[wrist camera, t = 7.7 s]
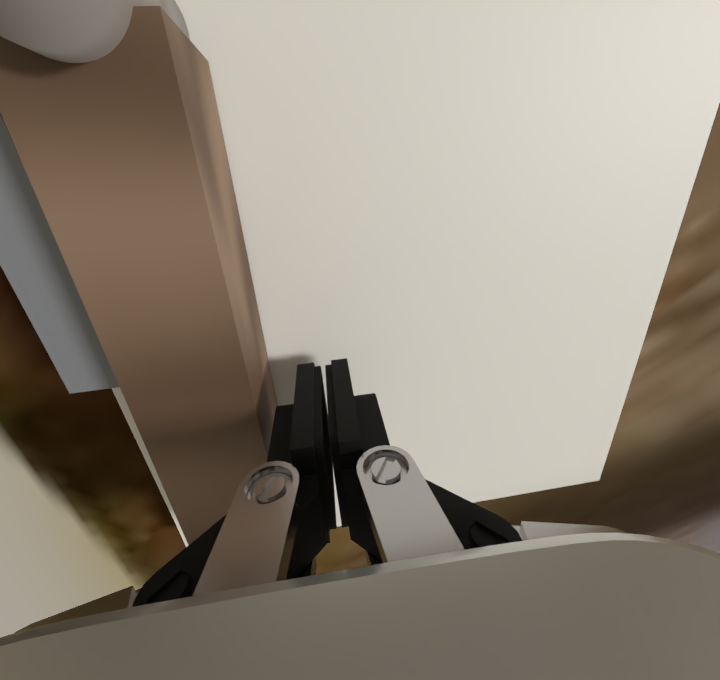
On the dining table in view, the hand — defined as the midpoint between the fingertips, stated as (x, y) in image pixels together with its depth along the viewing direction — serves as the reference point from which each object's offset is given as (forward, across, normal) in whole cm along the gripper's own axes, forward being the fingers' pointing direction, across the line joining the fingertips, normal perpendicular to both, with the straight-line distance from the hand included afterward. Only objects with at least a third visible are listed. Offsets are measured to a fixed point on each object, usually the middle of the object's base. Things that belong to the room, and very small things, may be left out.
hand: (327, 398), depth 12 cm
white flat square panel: (+3, -3, -3) cm, 5 cm away
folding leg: (+1, +3, -3) cm, 5 cm away
